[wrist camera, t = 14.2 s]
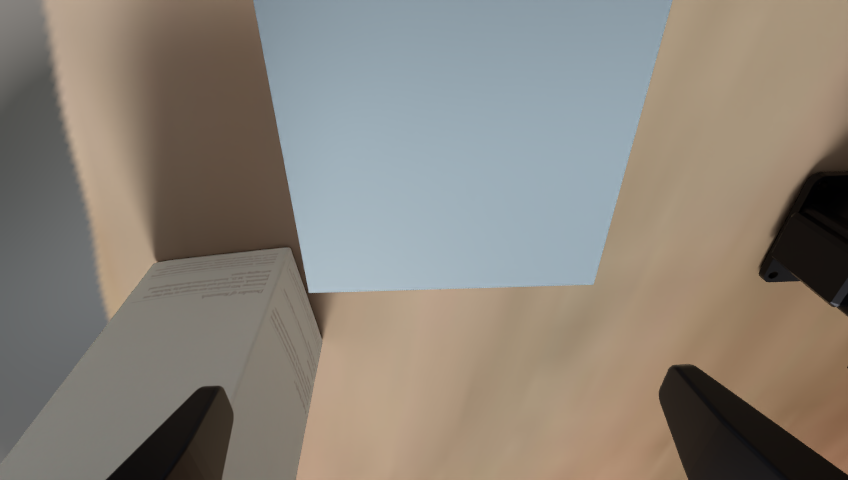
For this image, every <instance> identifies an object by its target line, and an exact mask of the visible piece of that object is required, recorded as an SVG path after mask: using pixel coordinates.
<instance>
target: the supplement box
mask: <svg viewBox="0 0 848 480" xmlns="http://www.w3.org/2000/svg"><path fill="white" fill-rule="evenodd" d="M321 347H322V338H321V335H320V332H319V329H318V326H317V323H316V320H315V317H314V314H313V312H312V309H311V306H310V303H309V300H308V297H307V294H306V291H305V288H304V286H303V283H302V280H301V277H300V274H299V271H298V268H297V266H296V263H295V260H294V257H293V254H292V251H291V249H290V248H288V247H286V248H276V249H265V250H257V251H248V252H238V253H230V254H220V255H211V256H203V257H193V258H186V259H175V260H168V261H163V262H157V263H154V264H153V265H152V266H151V268H150V269H149V270H148V272H147V273H146V274H145V276H144V277H143V278H142V280H141V281H140V282H139V284H138V285H137V286H136V287H135V289H134V290H133V291H132V292H131V294H130V295H129V296H128V298H127V299H126V301H125V302H124V303H123V304H122V306H121V307H120V308H119V310H118V311H117V312H116V314H115V315H114V316H113V318H112V319H111V320H110V322H109V323H108V324H107V326H106V327H105V329H104V330H103V331H102V333H100V335H99V336H98V337H97V339H96V340H95V341H94V343H93V344H92V345H91V346H90V348H89V349H88V351H87V352H86V353H85V354H84V356H83V357H82V358H81V360H80V361H79V362H78V364H77V365H76V366H75V367H74V369H73V370H72V371H71V373H70V374H69V375H68V377H67V378H66V379H65V381H64V382H63V383H62V384H61V386H60V387H59V388H58V389H57V391H56V392H55V393H54V395H53V396H52V397H51V399H50V400H49V402H48V403H47V404H46V406H45V407H44V408H43V409H42V411H41V412H40V414H39V415H38V416H37V417H36V419H35V420H34V421H33V423H32V424H31V425H30V426H29V428H28V429H27V430H26V431H25V433H24V434H23V436H22V437H21V438H20V440H19V441H18V442H17V444H16V445H15V446H14V448H13V449H12V450H11V451H10V453H9V454H8V455H7V457H6V458H5V459H4V460H3V462H2V463H1V464H0V480H106V479H107V478H108V477H109V476H110V475H111V474H112V473H113V472H114V471H115V470H116V469H117V468H118V467H119V466H120V465H121V464H122V463H123V462H124V461H125V460H126V459H127V458H128V457H129V456H130V455H131V454H132V453H133V452H134V451H135V450H136V449H137V448H138V447H139V446H140V445H141V444H142V443H143V442H144V441H145V440H146V439H147V438H148V437H149V436H150V435H151V434H152V433H153V432H154V431H155V430H156V429H157V428H158V427H159V426H160V425H161V424H162V423H163V422H164V421H165V420H166V419H167V418H168V417H169V416H170V415H171V414H172V413H173V412H174V411H175V410H176V409H177V408H178V407H180V406H181V405H182V404H183V403H184V402H185V401H186V400H187V399H188V398H189V397H190V396H191V395H192V394H193V393H194V392H195V391H196V390H197V389H198V388H200V387H203V386H222V387H223V388H224V390H225V392H226V394H227V397H228V399H229V401H230V404H231V406H232V409H233V413H234V421H233V427H232V432H231V437H230V442H229V446H228V451H227V456H226V461H225V466H224V471H223V476H222V480H296V475H297V470H298V465H299V459H300V454H301V449H302V443H303V438H304V433H305V428H306V423H307V418H308V413H309V407H310V402H311V397H312V392H313V386H314V381H315V377H316V372H317V367H318V362H319V357H320V352H321Z"/></svg>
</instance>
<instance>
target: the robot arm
mask: <svg viewBox="0 0 848 480" xmlns="http://www.w3.org/2000/svg"><path fill="white" fill-rule="evenodd" d="M819 183H820V184H819ZM759 276H760V277H761V278H762V279H763V280H765V281H766V282H787V281H801V282H802V283H804V284H805V285H806V286H807V287H809V288H810V289H811V290H812V291H813V292H815V293H816V294H817V295H818V296H819V297H821V298H822V299H823V300H824V301H825V302H827V303H828V304H829V305H830V306H832V307H837V308H838V309H839V310H840V311H842V312H843V313H844V314H845V315H847V316H848V171H846V172H820V173H816V174H814V175H812V176H811V177H810V178H809V179H808V180H807V182H806V183H805V185H804V187H803V189H802V191H801V193H800V195H799V197H798V199H797V201H796V202H795V204H794V206H793V208H792V210H791V212H790V214H789V216H788V218H787V220H786V222H785V223H784V225H783V227H782V229H781V231H780V233H779V235H778V237H777V239H776V241H775V242H774V244H773V246H772V248H771V250H770V252H769V254H768V256H767V258H766V260H765V261H764V263H763V265H762V267H761V269H760V271H759ZM847 368H848V367H847ZM659 400H660V404H661V406H662V409H663V412H664V415H665V417H666V420H667V423H668V426H669V429H670V431H671V434H672V437H673V440H674V443H675V445H676V448H677V451H678V454H679V456H680V459H681V462H682V465H683V467H684V470H685V472H686V475H687V477H688V480H848V475H847V474H846V473H844V472H843V471H841V470H840V469H839V468H837V467H836V466H834V465H833V464H832V463H830V462H829V461H827V460H826V459H825V458H823V457H822V456H820V455H819V454H818V453H816V452H815V451H813V450H812V449H811V448H809V447H808V446H806V445H805V444H804V443H802V442H801V441H799V440H798V439H797V438H795V437H794V436H793V435H791V434H790V433H788V432H787V431H786V430H784V429H783V428H781V427H780V426H779V425H777V424H776V423H774V422H773V421H772V420H770V419H769V418H767V417H766V416H765V415H763V414H762V413H760V412H759V411H758V410H756V409H755V408H753V407H752V406H751V405H749V404H748V403H747V402H745V401H744V400H742V399H741V398H740V397H738V396H737V395H735V394H734V393H733V392H731V391H730V390H728V389H727V388H726V387H724V386H723V385H721V384H720V383H719V382H717V381H716V380H714V379H713V378H712V377H710V376H709V375H707V374H706V373H705V372H703V371H702V370H700V369H699V368H698V367H696V366H694V365H691V364H682V365H672V366H671V367H670V368H669V369H668V371H667V374H666V376H665V378H664V380H663V383H662V385H661V387H660V390H659ZM233 421H234V413H233V409H232V406H231V404H230V401H229V399H228V397H227V394H226V392H225V390H224V388H223V387H222V386H203V387H200V388H198V389H197V390H196V391H195V392H194V393H193V394H192V395H191V396H190V397H189V398H188V399H187V400H186V401H185V402H184V403H183V404H182V405H181V406H180V407H178V408H177V409H176V410H175V411H174V412H173V413H172V414H171V415H170V416H169V417H168V418H167V419H166V420H165V421H164V422H163V423H162V424H161V425H160V426H159V427H158V428H157V429H156V430H155V431H154V432H153V433H152V434H151V435H150V436H149V437H148V438H147V439H146V440H145V441H144V442H143V443H142V444H141V445H140V446H139V447H138V448H137V449H136V450H135V451H134V452H133V453H132V454H131V455H130V456H129V457H128V458H127V459H126V460H125V461H124V462H123V463H122V464H121V465H120V466H119V467H118V468H117V469H116V470H115V471H114V472H113V473H112V474H111V475H110V476H109V477H108V478H107V479H106V480H222V476H223V471H224V466H225V461H226V456H227V451H228V446H229V442H230V437H231V432H232V427H233Z"/></svg>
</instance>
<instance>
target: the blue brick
mask: <svg viewBox="0 0 848 480" xmlns="http://www.w3.org/2000/svg"><path fill="white" fill-rule="evenodd" d="M253 2H254V7H255V12H256V18H257V23H258V28H259V33H260V39H261V44H262V49H263V54H264V60H265V65H266V70H267V75H268V81H269V86H270V91H271V96H272V102H273V107H274V112H275V117H276V123H277V128H278V133H279V138H280V144H281V149H282V154H283V159H284V165H285V170H286V175H287V180H288V186H289V191H290V196H291V201H292V207H293V212H294V217H295V222H296V228H297V233H298V238H299V243H300V249H301V254H302V259H303V264H304V270H305V275H306V280H307V285H308V291H309V293H326V292H359V291H393V290H426V289H460V288H494V287H527V286H561V285H593V284H594V281H595V277H596V273H597V270H598V266H599V263H600V259H601V255H602V252H603V248H604V245H605V241H606V237H607V234H608V230H609V227H610V223H611V220H612V216H613V212H614V209H615V205H616V202H617V198H618V194H619V191H620V187H621V184H622V180H623V176H624V173H625V169H626V166H627V162H628V158H629V155H630V151H631V148H632V144H633V140H634V137H635V133H636V130H637V126H638V122H639V119H640V115H641V112H642V108H643V104H644V101H645V97H646V94H647V90H648V86H649V83H650V79H651V76H652V72H653V68H654V65H655V61H656V58H657V54H658V50H659V47H660V43H661V40H662V36H663V32H664V29H665V25H666V22H667V18H668V14H669V11H670V7H671V4H672V0H253Z"/></svg>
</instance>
